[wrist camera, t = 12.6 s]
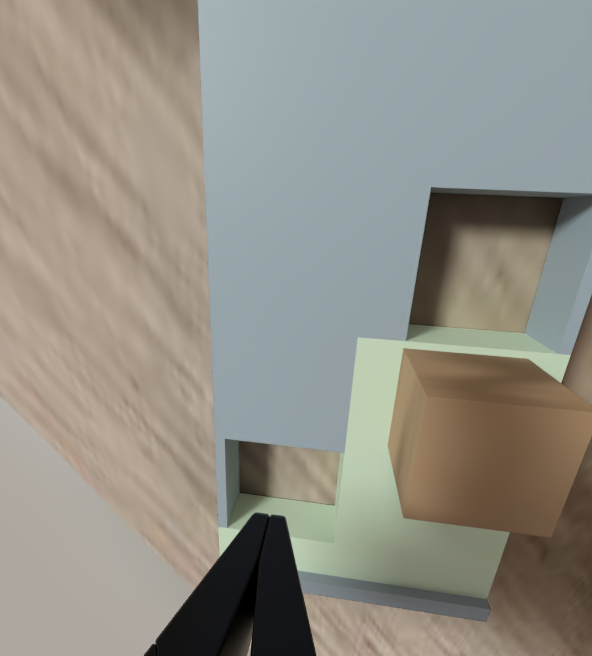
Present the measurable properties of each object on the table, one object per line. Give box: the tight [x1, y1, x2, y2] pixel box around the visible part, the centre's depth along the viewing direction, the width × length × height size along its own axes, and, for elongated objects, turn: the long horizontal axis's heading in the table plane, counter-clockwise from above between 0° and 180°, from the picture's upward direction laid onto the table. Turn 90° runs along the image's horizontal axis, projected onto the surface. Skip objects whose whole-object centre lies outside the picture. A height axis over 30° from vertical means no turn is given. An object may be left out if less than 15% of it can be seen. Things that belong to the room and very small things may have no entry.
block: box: [388, 348, 592, 538], centre depth 13 cm, size 5×5×4 cm
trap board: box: [198, 0, 592, 622], centre depth 16 cm, size 15×27×3 cm, turn 178°
